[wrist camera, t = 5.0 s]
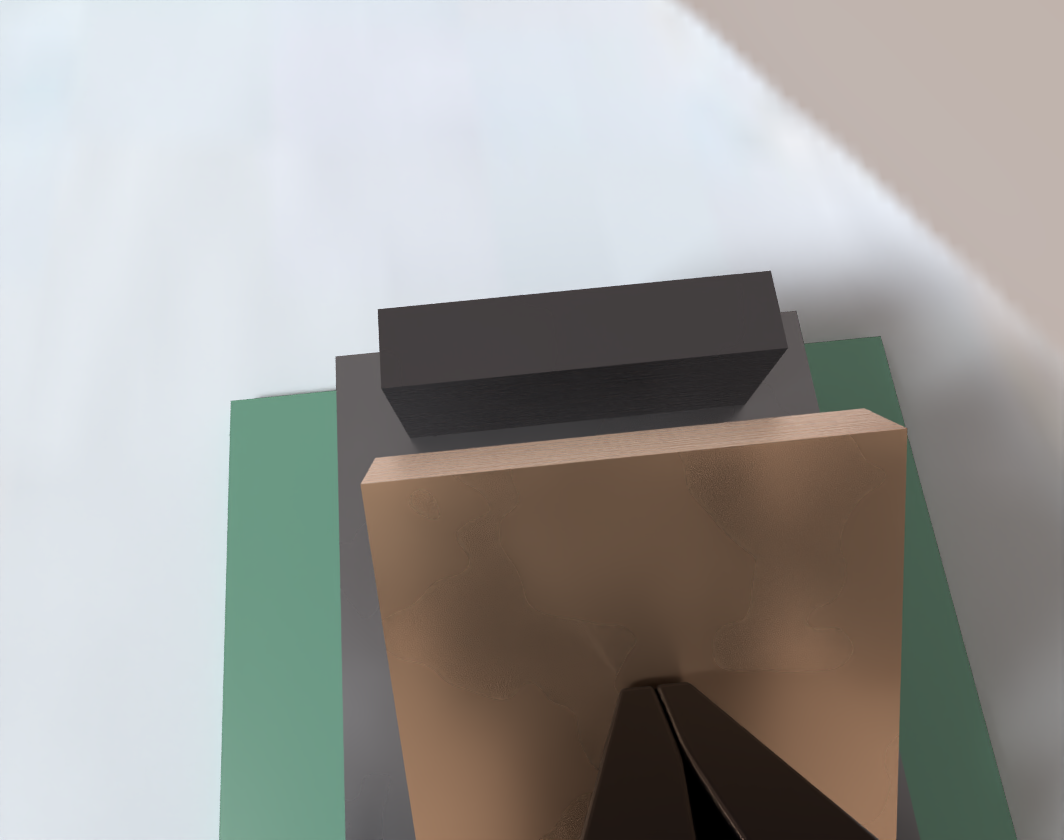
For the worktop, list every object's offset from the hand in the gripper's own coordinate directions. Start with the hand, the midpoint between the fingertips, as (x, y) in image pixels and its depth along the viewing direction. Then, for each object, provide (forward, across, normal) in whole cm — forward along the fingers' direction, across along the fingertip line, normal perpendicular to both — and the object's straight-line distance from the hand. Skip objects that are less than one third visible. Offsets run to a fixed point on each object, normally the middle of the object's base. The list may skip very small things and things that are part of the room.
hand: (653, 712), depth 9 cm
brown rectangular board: (+1, 0, -2) cm, 2 cm away
